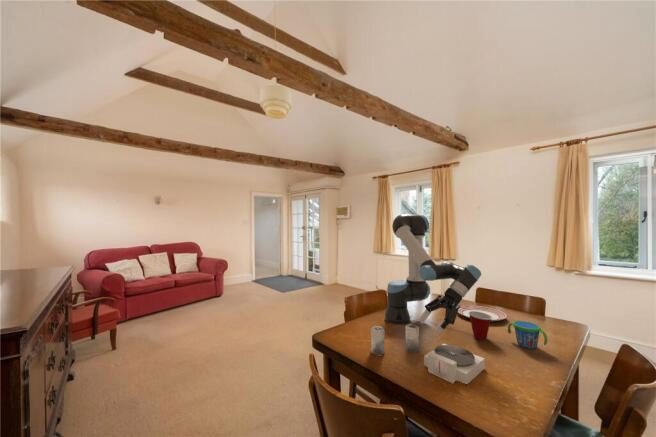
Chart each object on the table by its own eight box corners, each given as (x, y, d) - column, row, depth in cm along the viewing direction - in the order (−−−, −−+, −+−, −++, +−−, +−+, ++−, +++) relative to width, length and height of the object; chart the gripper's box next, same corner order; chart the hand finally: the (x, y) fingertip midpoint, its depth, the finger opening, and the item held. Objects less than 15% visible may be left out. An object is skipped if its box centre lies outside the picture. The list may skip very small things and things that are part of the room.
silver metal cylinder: (403, 349, 123) (402, 326, 123) (410, 346, 126) (410, 323, 127) (414, 354, 118) (414, 330, 118) (421, 350, 122) (421, 326, 122)
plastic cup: (496, 343, 129) (496, 318, 129) (472, 341, 131) (472, 317, 131) (487, 333, 140) (487, 311, 140) (465, 332, 142) (465, 310, 142)
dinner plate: (446, 312, 172) (446, 307, 172) (475, 307, 183) (475, 302, 183) (486, 328, 147) (486, 322, 147) (517, 320, 158) (516, 315, 158)
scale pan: (427, 354, 109) (427, 352, 109) (445, 343, 119) (445, 341, 119) (464, 370, 98) (464, 367, 98) (480, 357, 107) (480, 354, 107)
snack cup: (503, 341, 131) (503, 321, 131) (515, 337, 135) (515, 317, 135) (539, 355, 117) (539, 333, 117) (552, 350, 121) (551, 328, 121)
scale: (419, 368, 107) (419, 351, 107) (444, 352, 120) (443, 337, 120) (462, 388, 94) (462, 369, 94) (484, 368, 107) (484, 351, 107)
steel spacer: (368, 352, 121) (368, 328, 121) (377, 348, 125) (376, 324, 125) (378, 357, 116) (378, 332, 116) (387, 352, 120) (386, 328, 120)
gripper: (480, 305, 113) (449, 344, 110) (445, 291, 138) (419, 322, 135) (469, 294, 112) (438, 332, 109) (435, 281, 137) (409, 312, 134)
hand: (427, 327), depth 122 cm, fingers open, 13 cm apart
